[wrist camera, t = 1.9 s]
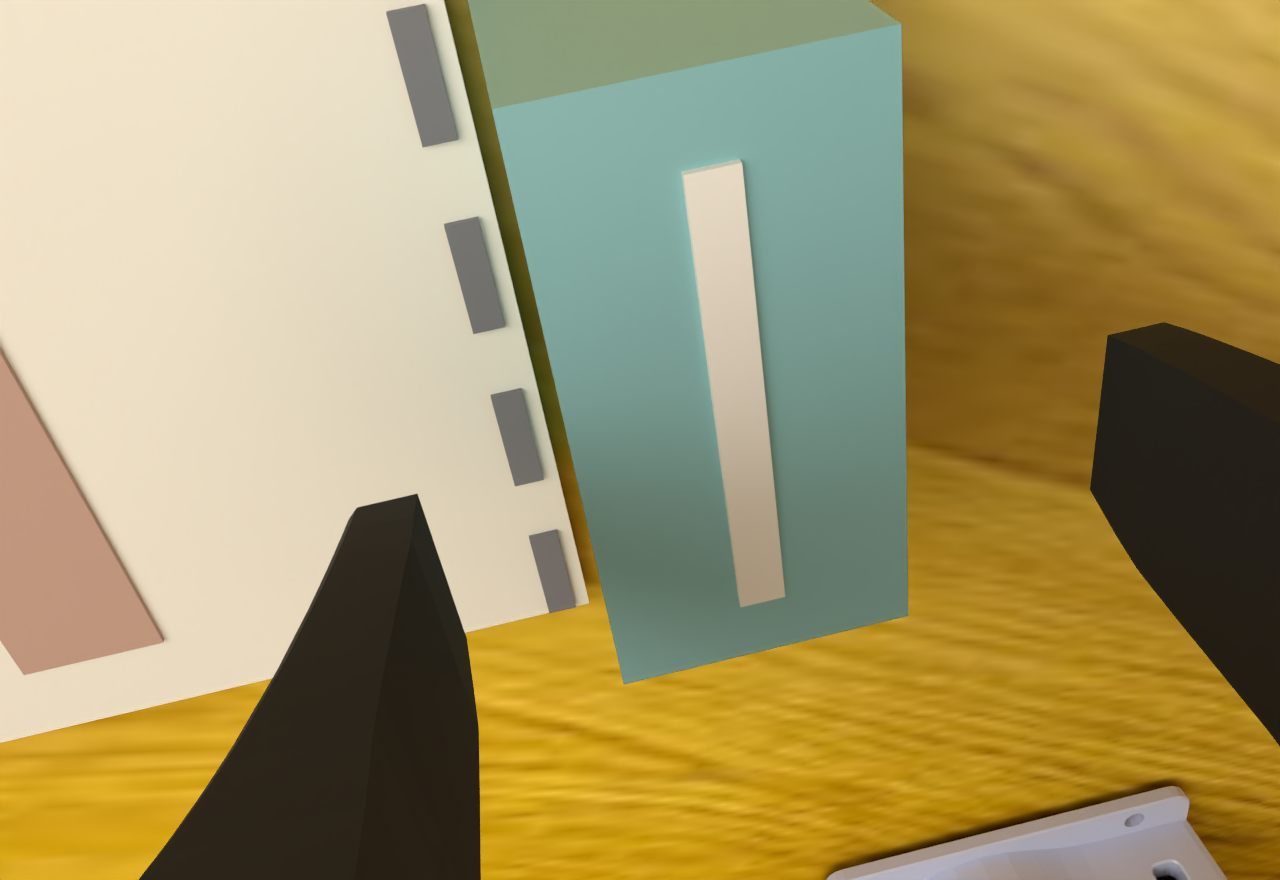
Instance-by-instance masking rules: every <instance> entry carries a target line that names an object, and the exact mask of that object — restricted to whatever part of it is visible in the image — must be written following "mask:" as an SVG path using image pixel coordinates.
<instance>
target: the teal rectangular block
mask: <svg viewBox="0 0 1280 880" xmlns="http://www.w3.org/2000/svg"><path fill="white" fill-rule="evenodd" d="M468 5H469V9H470V14H471V18H472V23H473V27H474V32H475V36H476V41H477V45H478V50H479V54H480V59H481V63H482V68H483V72H484V77H485V81H486V86H487V90H488V95H489V99H490V104H491V108H492V113H493V117H494V121H495V126H496V130H497V134H498V139H499V143H500V147H501V152H502V156H503V160H504V165H505V169H506V174H507V178H508V182H509V187H510V191H511V195H512V200H513V204H514V208H515V213H516V217H517V221H518V226H519V230H520V234H521V239H522V243H523V247H524V252H525V256H526V261H527V265H528V269H529V274H530V278H531V282H532V287H533V291H534V295H535V300H536V304H537V308H538V313H539V317H540V321H541V326H542V330H543V335H544V339H545V343H546V348H547V352H548V356H549V361H550V365H551V369H552V374H553V378H554V382H555V387H556V391H557V395H558V400H559V404H560V408H561V413H562V417H563V422H564V426H565V430H566V435H567V439H568V443H569V448H570V452H571V456H572V461H573V465H574V469H575V474H576V478H577V482H578V487H579V491H580V495H581V500H582V504H583V509H584V513H585V517H586V522H587V526H588V530H589V535H590V539H591V543H592V548H593V552H594V556H595V561H596V565H597V569H598V574H599V578H600V582H601V587H602V591H603V596H604V600H605V604H606V609H607V613H608V617H609V622H610V626H611V630H612V635H613V639H614V643H615V648H616V652H617V656H618V661H619V665H620V669H621V674H622V678H623V683H624V684H628V683H632V682H636V681H640V680H644V679H649V678H653V677H657V676H661V675H665V674H669V673H673V672H678V671H682V670H686V669H690V668H694V667H698V666H702V665H706V664H711V663H715V662H719V661H723V660H727V659H731V658H735V657H740V656H744V655H748V654H752V653H756V652H760V651H764V650H769V649H773V648H777V647H781V646H785V645H789V644H793V643H797V642H802V641H806V640H810V639H814V638H818V637H822V636H826V635H831V634H835V633H839V632H843V631H847V630H851V629H855V628H860V627H864V626H868V625H872V624H876V623H880V622H884V621H889V620H893V619H897V618H901V617H905V616H908V555H907V466H906V378H905V290H904V202H903V114H902V26H901V23H900V22H898V21H897V20H895V19H894V18H893V17H891V16H890V15H888V14H887V13H886V12H884V11H883V10H881V9H880V8H879V7H877V6H876V5H874V4H873V3H871V2H870V1H869V0H468Z"/></svg>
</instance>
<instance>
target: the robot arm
mask: <svg viewBox="0 0 1280 880" xmlns="http://www.w3.org/2000/svg"><path fill="white" fill-rule="evenodd" d="M1090 490H1091V492H1092V494H1093V496H1094V497H1095V499H1096V501H1097V503H1098V504H1099V506H1100V508H1101V510H1102V511H1103V513H1104V515H1105V517H1106V518H1107V520H1108V522H1109V524H1110V525H1111V527H1112V529H1113V531H1114V532H1115V534H1116V536H1117V537H1118V539H1119V541H1120V542H1121V544H1122V545H1123V547H1124V549H1125V550H1126V552H1127V553H1128V555H1129V557H1130V558H1131V560H1132V561H1133V563H1134V565H1135V566H1136V568H1137V569H1138V570H1139V572H1140V573H1141V574H1142V575H1143V577H1144V578H1145V579H1146V581H1147V582H1148V583H1149V584H1150V586H1151V587H1152V588H1153V590H1154V591H1155V592H1156V593H1157V595H1158V596H1159V597H1160V598H1161V600H1162V601H1163V602H1164V603H1165V605H1166V606H1167V607H1168V608H1169V610H1170V611H1171V612H1172V613H1173V615H1174V616H1175V617H1176V618H1177V620H1178V621H1179V622H1180V623H1181V625H1182V626H1183V627H1184V628H1185V629H1186V631H1187V632H1188V633H1189V634H1190V636H1191V637H1192V638H1193V639H1194V640H1195V642H1196V643H1197V644H1198V645H1199V647H1200V648H1201V649H1202V650H1203V651H1204V653H1205V654H1206V655H1207V656H1208V658H1209V659H1210V660H1211V661H1212V662H1213V664H1214V665H1215V666H1216V667H1217V669H1218V670H1219V671H1220V672H1221V673H1222V675H1223V676H1224V677H1225V678H1226V680H1227V681H1228V682H1229V683H1230V684H1231V686H1232V687H1233V688H1234V689H1235V691H1236V692H1237V693H1238V694H1239V695H1240V697H1241V698H1242V699H1243V700H1244V702H1245V703H1246V704H1247V705H1248V706H1249V708H1250V709H1251V710H1252V711H1253V713H1254V714H1255V715H1256V716H1257V718H1258V719H1259V720H1260V721H1261V722H1262V724H1263V725H1264V726H1265V727H1266V729H1267V730H1268V731H1269V732H1270V734H1271V735H1272V736H1273V738H1274V739H1275V740H1276V742H1277V743H1278V744H1279V746H1280V364H1277V363H1274V362H1272V361H1269V360H1267V359H1264V358H1262V357H1259V356H1257V355H1254V354H1252V353H1249V352H1247V351H1244V350H1241V349H1239V348H1236V347H1234V346H1231V345H1228V344H1226V343H1223V342H1220V341H1218V340H1215V339H1212V338H1210V337H1207V336H1204V335H1201V334H1199V333H1196V332H1193V331H1190V330H1187V329H1184V328H1181V327H1177V326H1174V325H1171V324H1168V323H1159V324H1155V325H1151V326H1146V327H1142V328H1138V329H1133V330H1129V331H1125V332H1120V333H1116V334H1111V335H1108V338H1107V347H1106V355H1105V364H1104V373H1103V382H1102V390H1101V399H1100V408H1099V417H1098V426H1097V434H1096V443H1095V452H1094V461H1093V469H1092V478H1091V487H1090ZM1189 805H1190V801H1189V799H1188V797H1187V796H1186V794H1185V793H1184V792H1183V790H1182V789H1181V788H1180V787H1175V786H1167V787H1163V788H1159V789H1155V790H1151V791H1147V792H1143V793H1139V794H1135V795H1131V796H1127V797H1123V798H1119V799H1115V800H1112V801H1108V802H1104V803H1100V804H1096V805H1092V806H1088V807H1084V808H1080V809H1076V810H1072V811H1068V812H1064V813H1061V814H1057V815H1053V816H1049V817H1045V818H1041V819H1037V820H1033V821H1029V822H1025V823H1021V824H1017V825H1013V826H1010V827H1006V828H1002V829H998V830H994V831H990V832H986V833H982V834H978V835H974V836H970V837H966V838H962V839H959V840H955V841H951V842H947V843H943V844H939V845H935V846H931V847H927V848H923V849H919V850H915V851H911V852H908V853H904V854H900V855H896V856H892V857H888V858H884V859H880V860H876V861H872V862H868V863H864V864H860V865H857V866H853V867H849V868H845V869H841V870H838V871H836V872H834V873H832V874H831V875H829V876H828V878H827V879H826V880H1228V879H1227V878H1226V876H1225V875H1224V873H1223V872H1222V870H1221V869H1220V867H1219V866H1218V865H1217V863H1216V862H1215V860H1214V859H1213V857H1212V856H1211V854H1210V853H1209V851H1208V850H1207V848H1206V847H1205V846H1204V844H1203V843H1202V841H1201V840H1200V838H1199V837H1198V835H1197V834H1196V832H1195V831H1194V830H1193V828H1192V827H1191V825H1190V824H1189V822H1188V821H1187V820H1186V819H1187V814H1188V810H1189ZM139 880H481V874H480V788H479V731H478V720H477V712H476V704H475V696H474V688H473V681H472V674H471V667H470V659H469V652H468V645H467V638H466V635H465V632H464V629H463V626H462V623H461V620H460V617H459V615H458V612H457V609H456V606H455V603H454V600H453V597H452V594H451V591H450V588H449V585H448V582H447V579H446V576H445V573H444V570H443V567H442V564H441V562H440V559H439V556H438V553H437V550H436V547H435V544H434V541H433V538H432V535H431V532H430V529H429V526H428V523H427V520H426V517H425V514H424V511H423V509H422V506H421V503H420V500H419V497H418V494H414V495H409V496H405V497H401V498H396V499H392V500H388V501H383V502H379V503H374V504H370V505H366V506H361V507H357V508H356V510H355V511H354V512H353V514H352V515H351V517H350V518H349V520H348V522H347V525H346V527H345V529H344V532H343V534H342V536H341V539H340V541H339V543H338V546H337V548H336V550H335V553H334V555H333V557H332V559H331V562H330V564H329V566H328V568H327V570H326V573H325V575H324V577H323V579H322V581H321V584H320V586H319V588H318V590H317V592H316V594H315V596H314V598H313V600H312V603H311V605H310V607H309V609H308V611H307V613H306V615H305V617H304V619H303V621H302V623H301V625H300V627H299V629H298V630H297V632H296V634H295V636H294V638H293V640H292V642H291V644H290V646H289V648H288V650H287V652H286V654H285V656H284V658H283V660H282V662H281V664H280V666H279V667H278V669H277V671H276V673H275V675H274V677H273V678H272V680H271V682H270V684H269V685H268V687H267V689H266V691H265V692H264V694H263V696H262V697H261V699H260V701H259V702H258V704H257V706H256V708H255V709H254V711H253V713H252V714H251V716H250V718H249V720H248V721H247V723H246V725H245V726H244V728H243V730H242V731H241V733H240V735H239V737H238V738H237V740H236V742H235V743H234V745H233V747H232V748H231V750H230V751H229V753H228V755H227V756H226V758H225V759H224V761H223V762H222V764H221V765H220V767H219V769H218V770H217V772H216V773H215V775H214V776H213V778H212V779H211V781H210V782H209V784H208V785H207V787H206V788H205V790H204V791H203V793H202V794H201V796H200V797H199V799H198V800H197V802H196V803H195V804H194V806H193V807H192V809H191V810H190V811H189V813H188V814H187V816H186V817H185V819H184V820H183V821H182V823H181V824H180V826H179V827H178V828H177V830H176V831H175V833H174V834H173V836H172V837H171V838H170V840H169V841H168V842H167V844H166V845H165V846H164V848H163V849H162V850H161V852H160V853H159V854H158V856H157V857H156V858H155V859H154V861H153V862H152V863H151V865H150V866H149V867H148V868H147V870H146V871H145V872H144V874H143V875H142V876H141V877H140V879H139Z"/></svg>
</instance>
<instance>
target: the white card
mask: <svg viewBox="0 0 1280 880" xmlns="http://www.w3.org/2000/svg"><path fill="white" fill-rule="evenodd" d="M414 494H418V497H419V500H420V503H421V506H422V509H423V511H424V514H425V517H426V520H427V523H428V526H429V529H430V532H431V535H432V538H433V541H434V544H435V547H436V550H437V553H438V556H439V559H440V562H441V564H442V567H443V570H444V573H445V576H446V579H447V582H448V585H449V588H450V591H451V594H452V597H453V600H454V603H455V606H456V609H457V612H458V615H459V617H460V620H461V623H462V626H463V629H464V632H465V633H466V632H470V631H474V630H479V629H483V628H487V627H491V626H495V625H500V624H504V623H508V622H512V621H517V620H521V619H525V618H529V617H533V616H538V615H542V614H546V613H552V612H557V611H561V610H565V609H569V608H574V607H576V606H580V605H584V604H588V603H589V600H588V595H587V590H586V585H585V581H584V577H583V572H582V568H581V564H580V560H579V556H578V552H577V548H576V543H575V539H574V535H573V531H572V527H571V523H570V518H569V514H568V510H567V506H566V502H565V498H564V494H563V489H562V485H561V481H560V477H559V473H558V469H557V465H556V460H555V456H554V452H553V448H552V444H551V440H550V435H549V431H548V427H547V423H546V419H545V415H544V411H543V406H542V402H541V398H540V394H539V390H538V386H537V382H536V377H535V373H534V369H533V365H532V361H531V357H530V352H529V348H528V344H527V340H526V336H525V332H524V328H523V323H522V319H521V315H520V311H519V307H518V303H517V299H516V294H515V290H514V286H513V282H512V278H511V274H510V269H509V265H508V261H507V257H506V253H505V249H504V245H503V240H502V236H501V232H500V228H499V224H498V220H497V216H496V211H495V207H494V203H493V199H492V195H491V191H490V186H489V182H488V178H487V174H486V170H485V166H484V162H483V157H482V153H481V149H480V145H479V141H478V137H477V133H476V128H475V124H474V120H473V116H472V112H471V108H470V103H469V99H468V95H467V91H466V87H465V83H464V79H463V74H462V70H461V66H460V62H459V58H458V54H457V49H456V45H455V41H454V37H453V33H452V29H451V25H450V20H449V16H448V12H447V8H446V4H445V0H0V743H1V742H6V741H10V740H14V739H18V738H22V737H27V736H31V735H35V734H39V733H44V732H48V731H52V730H56V729H60V728H65V727H69V726H73V725H77V724H82V723H86V722H90V721H94V720H98V719H103V718H107V717H111V716H115V715H120V714H124V713H128V712H132V711H136V710H141V709H145V708H149V707H153V706H158V705H162V704H166V703H170V702H174V701H179V700H183V699H187V698H191V697H196V696H200V695H204V694H208V693H212V692H217V691H221V690H225V689H229V688H234V687H238V686H242V685H246V684H250V683H255V682H259V681H263V680H267V679H272V678H273V677H274V675H275V673H276V671H277V669H278V667H279V666H280V664H281V662H282V660H283V658H284V656H285V654H286V652H287V650H288V648H289V646H290V644H291V642H292V640H293V638H294V636H295V634H296V632H297V630H298V629H299V627H300V625H301V623H302V621H303V619H304V617H305V615H306V613H307V611H308V609H309V607H310V605H311V603H312V600H313V598H314V596H315V594H316V592H317V590H318V588H319V586H320V584H321V581H322V579H323V577H324V575H325V573H326V570H327V568H328V566H329V564H330V562H331V559H332V557H333V555H334V553H335V550H336V548H337V546H338V543H339V541H340V539H341V536H342V534H343V532H344V529H345V527H346V525H347V522H348V520H349V518H350V517H351V515H352V514H353V512H354V511H355V510H356V508H357V507H361V506H366V505H370V504H374V503H379V502H383V501H388V500H392V499H396V498H401V497H405V496H409V495H414Z"/></svg>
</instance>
